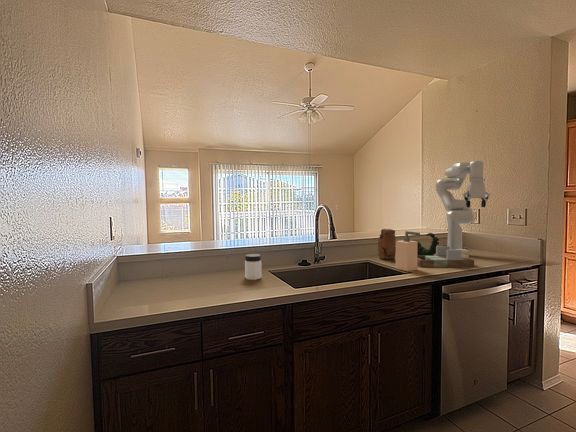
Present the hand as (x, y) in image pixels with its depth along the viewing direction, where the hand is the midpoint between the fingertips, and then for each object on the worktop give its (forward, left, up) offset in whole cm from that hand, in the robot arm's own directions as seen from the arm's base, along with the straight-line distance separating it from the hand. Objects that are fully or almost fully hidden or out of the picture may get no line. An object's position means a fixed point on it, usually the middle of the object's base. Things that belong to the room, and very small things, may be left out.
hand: (475, 207), depth 207 cm
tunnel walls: (+9, -22, -31) cm, 39 cm away
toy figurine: (-13, -30, -35) cm, 48 cm away
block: (-9, -54, -35) cm, 65 cm away
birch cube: (+9, -13, -31) cm, 35 cm away
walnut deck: (+9, -26, -35) cm, 45 cm away
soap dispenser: (+24, -51, -35) cm, 67 cm away
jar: (+41, -139, -35) cm, 149 cm away
